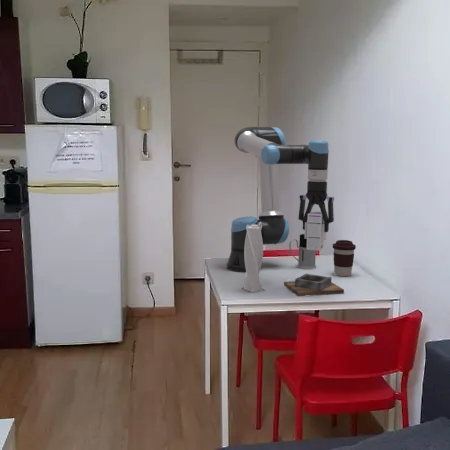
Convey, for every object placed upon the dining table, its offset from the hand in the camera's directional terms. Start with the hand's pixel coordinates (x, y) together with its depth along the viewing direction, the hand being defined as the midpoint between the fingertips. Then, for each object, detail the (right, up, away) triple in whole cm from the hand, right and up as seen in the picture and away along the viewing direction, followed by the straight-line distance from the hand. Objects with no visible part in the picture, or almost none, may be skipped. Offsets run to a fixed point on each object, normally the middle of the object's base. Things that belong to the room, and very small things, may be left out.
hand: (315, 239), depth 225 cm
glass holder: (0, -14, +40) cm, 43 cm away
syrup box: (0, -4, +1) cm, 4 cm away
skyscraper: (-24, -21, +1) cm, 32 cm away
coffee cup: (+17, -17, +28) cm, 37 cm away
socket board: (0, -20, +3) cm, 20 cm away
